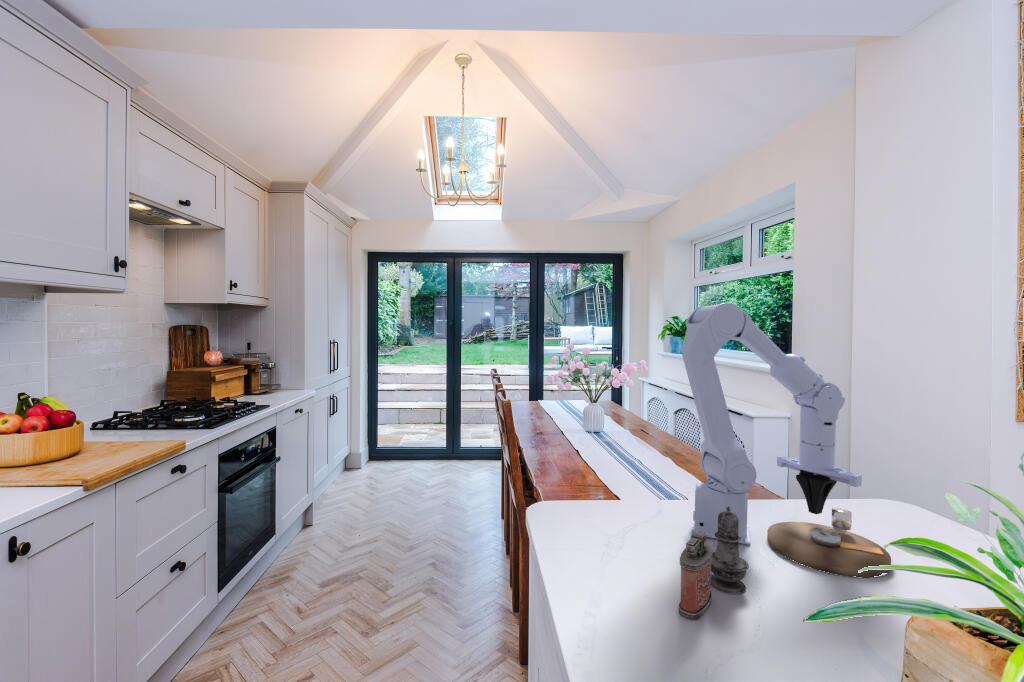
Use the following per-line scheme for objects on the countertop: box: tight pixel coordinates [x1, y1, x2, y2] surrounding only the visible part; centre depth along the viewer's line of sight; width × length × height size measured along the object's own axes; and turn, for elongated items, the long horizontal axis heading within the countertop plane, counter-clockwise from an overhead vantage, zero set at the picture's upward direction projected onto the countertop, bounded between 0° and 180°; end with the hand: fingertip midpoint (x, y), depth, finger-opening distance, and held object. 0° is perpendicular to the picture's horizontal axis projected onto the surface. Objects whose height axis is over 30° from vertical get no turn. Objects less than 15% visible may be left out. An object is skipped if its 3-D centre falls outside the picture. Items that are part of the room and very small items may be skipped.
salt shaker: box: [711, 506, 750, 595], centre depth 69 cm, size 6×6×12 cm
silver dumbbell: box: [811, 507, 853, 547], centre depth 83 cm, size 11×4×4 cm, turn 125°
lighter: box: [678, 531, 714, 621], centre depth 64 cm, size 8×3×10 cm, turn 141°
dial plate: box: [766, 521, 892, 579], centre depth 81 cm, size 18×18×2 cm
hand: (815, 512), depth 89 cm, fingers closed
